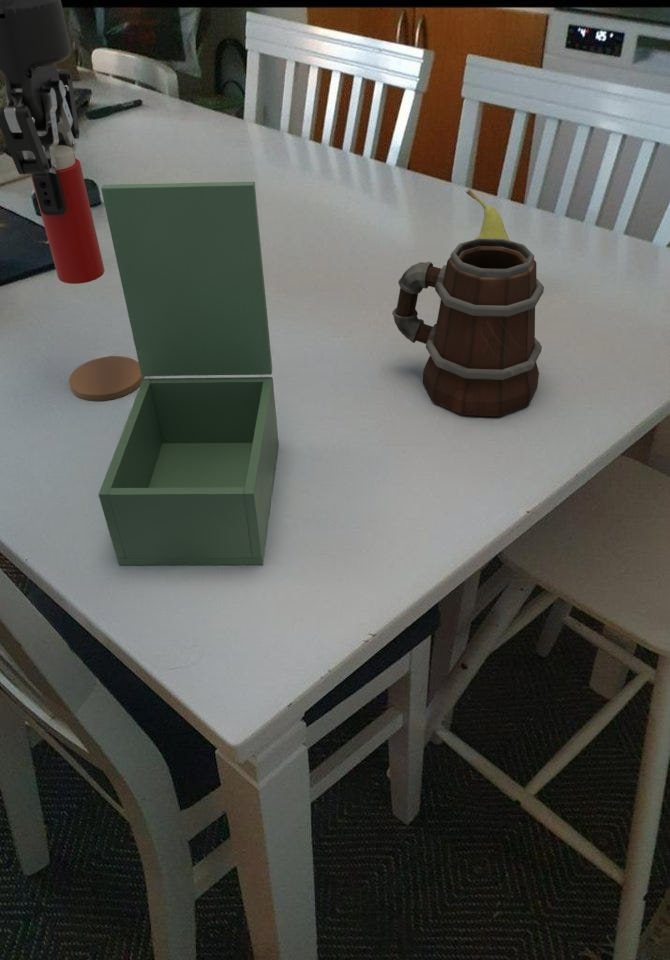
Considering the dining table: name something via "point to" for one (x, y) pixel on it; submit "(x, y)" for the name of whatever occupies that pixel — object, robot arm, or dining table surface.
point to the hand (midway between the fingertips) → (63, 202)
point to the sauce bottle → (73, 225)
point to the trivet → (106, 378)
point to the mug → (477, 326)
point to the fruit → (490, 221)
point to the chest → (194, 473)
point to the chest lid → (192, 276)
